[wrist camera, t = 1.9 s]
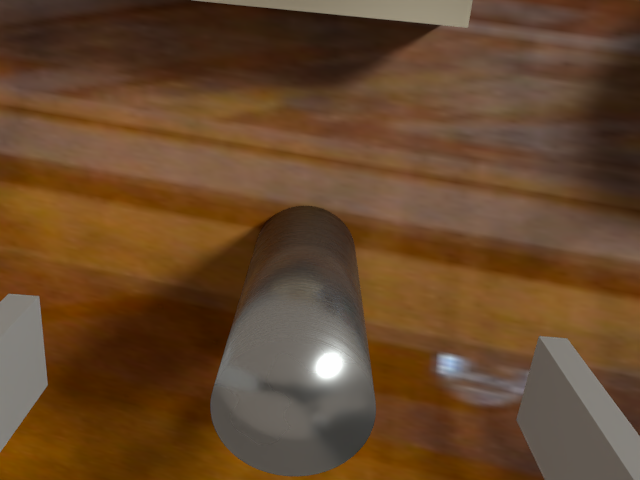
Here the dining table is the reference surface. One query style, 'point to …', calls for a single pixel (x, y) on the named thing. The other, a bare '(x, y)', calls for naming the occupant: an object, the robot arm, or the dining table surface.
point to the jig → (376, 9)
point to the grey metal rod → (297, 351)
